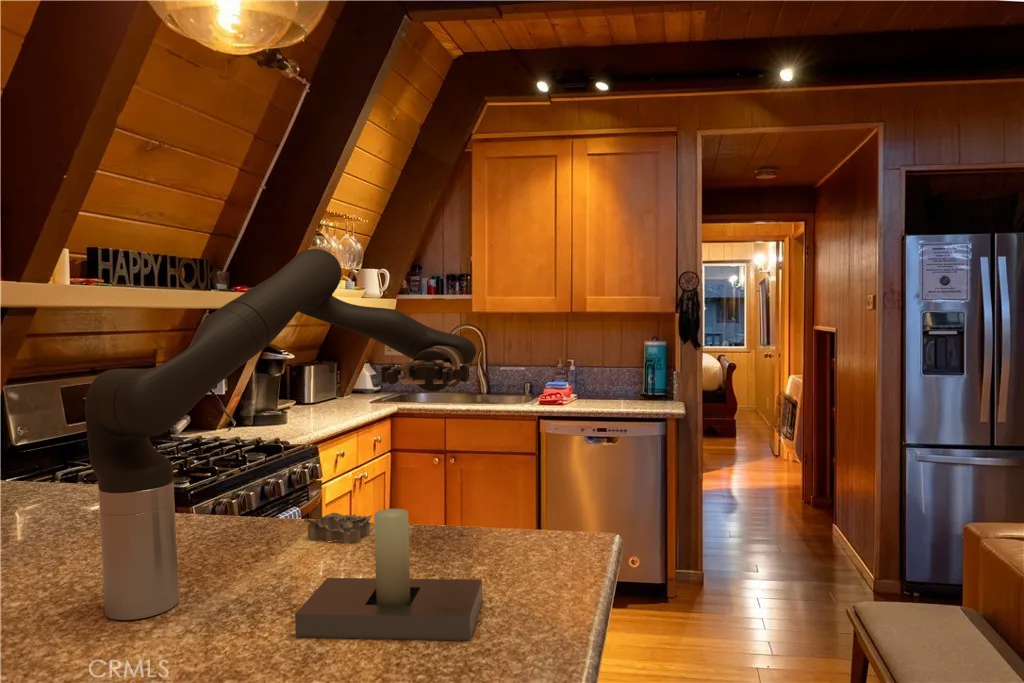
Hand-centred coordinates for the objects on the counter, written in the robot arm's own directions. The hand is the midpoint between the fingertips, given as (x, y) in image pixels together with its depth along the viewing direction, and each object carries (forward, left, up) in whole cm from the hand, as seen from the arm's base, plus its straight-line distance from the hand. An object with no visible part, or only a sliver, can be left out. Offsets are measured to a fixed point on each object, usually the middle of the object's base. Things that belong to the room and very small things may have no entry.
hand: (417, 377), depth 113 cm
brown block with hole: (+13, -14, -30) cm, 35 cm away
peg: (+13, -14, -30) cm, 35 cm away
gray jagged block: (-24, -1, -31) cm, 39 cm away
